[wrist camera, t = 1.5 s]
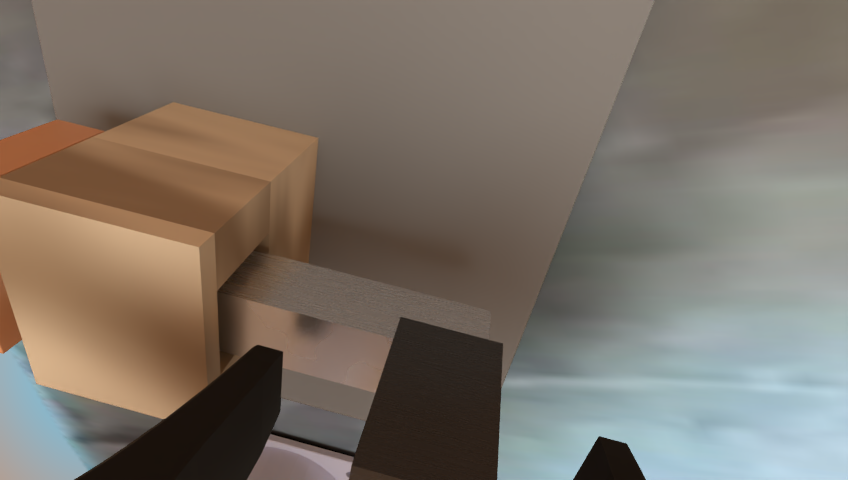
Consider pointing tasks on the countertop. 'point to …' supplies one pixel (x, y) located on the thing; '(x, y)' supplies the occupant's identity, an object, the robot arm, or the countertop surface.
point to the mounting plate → (381, 124)
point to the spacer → (16, 154)
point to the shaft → (379, 362)
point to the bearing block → (147, 249)
